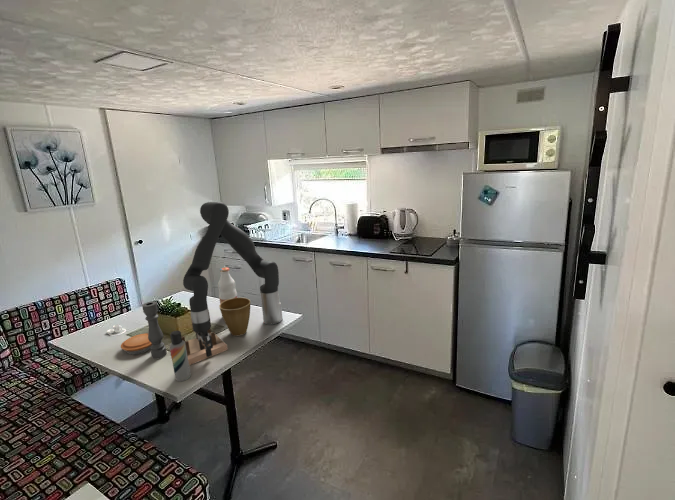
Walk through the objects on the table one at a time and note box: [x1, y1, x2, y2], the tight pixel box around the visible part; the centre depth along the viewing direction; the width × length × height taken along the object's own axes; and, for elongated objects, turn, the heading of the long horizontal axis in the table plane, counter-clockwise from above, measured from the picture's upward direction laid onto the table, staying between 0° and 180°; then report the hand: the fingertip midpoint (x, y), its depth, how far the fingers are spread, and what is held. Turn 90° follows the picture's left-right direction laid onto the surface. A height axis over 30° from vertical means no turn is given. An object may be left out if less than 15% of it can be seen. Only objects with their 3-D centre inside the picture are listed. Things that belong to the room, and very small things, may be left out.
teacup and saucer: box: [106, 324, 127, 337], centre depth 188 cm, size 9×8×4 cm
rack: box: [181, 328, 224, 356], centre depth 168 cm, size 20×14×7 cm
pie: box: [120, 332, 152, 355], centre depth 170 cm, size 15×16×5 cm
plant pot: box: [218, 297, 251, 337], centre depth 178 cm, size 15×15×16 cm
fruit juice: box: [217, 267, 238, 319], centre depth 197 cm, size 9×9×28 cm
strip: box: [188, 341, 228, 366], centre depth 160 cm, size 18×4×3 cm, turn 132°
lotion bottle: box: [169, 330, 192, 382], centre depth 142 cm, size 6×6×20 cm
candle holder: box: [141, 301, 168, 360], centre depth 160 cm, size 6×6×25 cm
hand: (205, 352), depth 160 cm, fingers open, 8 cm apart
